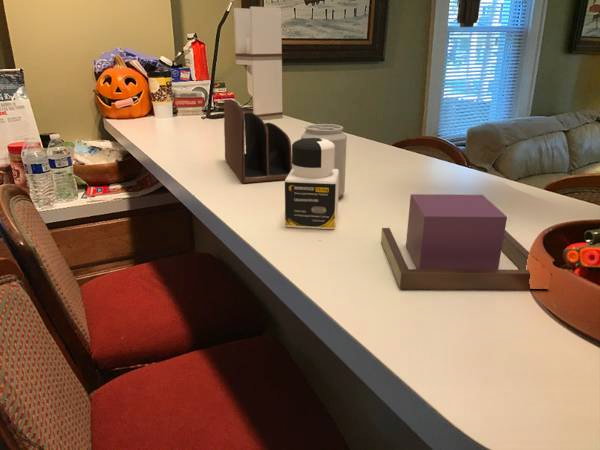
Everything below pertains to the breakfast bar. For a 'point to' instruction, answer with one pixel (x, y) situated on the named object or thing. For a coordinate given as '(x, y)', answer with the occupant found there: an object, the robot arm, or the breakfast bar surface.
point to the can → (338, 139)
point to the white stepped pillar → (261, 57)
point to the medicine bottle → (312, 185)
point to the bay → (459, 270)
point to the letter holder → (255, 146)
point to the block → (454, 232)
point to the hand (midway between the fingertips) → (466, 27)
